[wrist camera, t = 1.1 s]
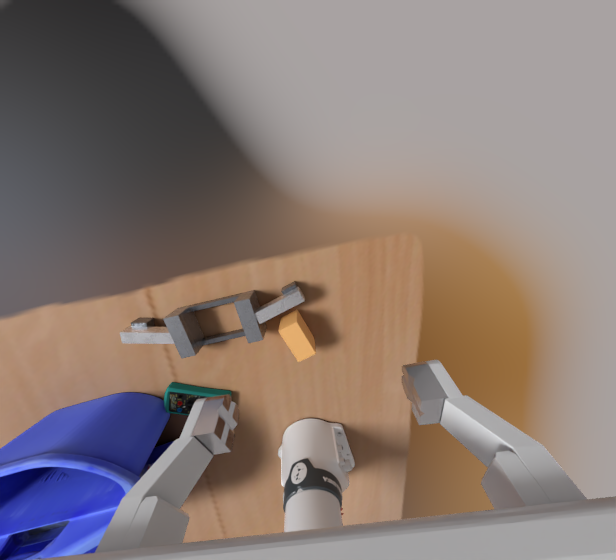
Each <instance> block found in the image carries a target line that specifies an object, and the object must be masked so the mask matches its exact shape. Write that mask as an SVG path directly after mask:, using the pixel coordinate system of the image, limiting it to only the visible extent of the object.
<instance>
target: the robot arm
mask: <svg viewBox="0 0 616 560" xmlns="http://www.w3.org/2000/svg"><path fill="white" fill-rule="evenodd" d="M402 372H403V374H404V375H403V376H402V385H403V389H404V391H405V394H406V396H407V398H408V399H409V400H410V401H411V402H412V410H413V412H414V415H415V417H416V419H417V421H418V424H419V425H424V424H433V423H440V424H441V425H442V426H443V427H444V428H445V429H446V430H447V431H448V432H449V433H451V434H452V435H453V436H454V437H455V438H456V439H457V440H458V441H459V442H461V444H463V445H464V446H465V447H466V448H467V449H468V450H469V451H470V452H471V453H472V454H473V455H475V456H476V457H477V458H478V459H479V460H480V461H481V462H482V463H483V464H484V465H486V466H487V467H488V469H487V471H486V473H485V475H484V477H483V479H482V482H481V484H482V486H483V488H484V490H485V492H486V494H487V496H488V497H489V499H490V501H491V503H492V505H493V507H494V509H495V510H485V511H476V512H467V513H458V514H449V515H439V516H430V517H421V518H411V519H402V520H393V521H384V522H374V523H365V524H356V525H347V526H343V523H342V516H341V515H343V513H341V510H342V508H341V506H342V493H343V492H344V491H345V490H346V489H347V487H348V486H349V475H348V472H349V471H351V470H352V468H353V467H354V466H355V462H354V458H353V455H352V452H351V449H350V446H349V443H348V440H347V437H346V435H345V432H344V429H343V426H342V425H341V424H339V423H328V422H326V421H323V420H320V419H303V420H300V421H297V422H295V423H293V424H292V425H290V426H289V427H288V428H287V429H286V431H285V433H284V435H283V441H282V445H281V446H280V448H279V450H278V456H279V457H280V458H281V483H282V486H283V487H284V495H283V503H284V505H283V508H284V512H285V525H284V532H282V533H273V534H263V535H254V536H245V537H236V538H226V539H217V540H208V541H199V542H190V543H182V542H183V539H184V535H185V532H186V528H187V525H188V521H189V515H188V514H187V513H185V512H184V511H182V510H180V508H181V506H182V504H183V503H184V501H185V500H186V498H187V497H188V495H189V494H190V492H191V490H192V489H193V487H194V486H195V484H196V483H197V481H198V480H199V478H200V476H201V475H202V473H203V472H204V470H205V469H206V467H207V466H208V464H209V462H210V461H211V459H212V458H213V455H215V454H221V453H227V452H231V450H232V446H233V442H234V437H235V434H234V431H233V429H234V428H235V427H236V425H237V424H238V419H239V409H238V406H237V404H236V403H234V402H232V401H231V400H232V397H231V396H230V395H229V394H227V395H221V396H215V397H207V398H201V399H197V400H196V401H195V403H194V405H193V407H192V409H191V412H190V414H189V416H188V419H187V421H186V424H185V426H184V428H183V431H182V433H181V435H180V438H179V439H176V440H175V441H174V442H173V443H172V444H171V445H170V446H169V448H168V449H167V450H166V451H165V452H164V453H163V454H162V455H161V456H160V457H159V459H158V460H157V461H156V462H155V463H154V464H153V465H152V466H151V467H150V469H149V470H148V471H147V472H146V473H145V474H144V475H143V476H142V477H141V479H140V480H139V481H138V482H137V483H136V484H135V485H134V486H133V487H132V488H131V490H130V491H129V492H128V493H127V494H126V495H125V496H124V497H123V498H122V500H121V502H120V504H119V506H118V508H117V510H116V512H115V514H114V516H113V518H112V520H111V522H110V524H109V526H108V527H107V529H106V531H105V533H104V535H103V537H102V539H101V541H100V543H99V545H98V547H97V549H96V551H95V553H88V554H79V555H69V556H60V557H51V558H42V559H32V560H616V496H615V497H606V498H596V499H587V498H586V497H585V496H584V495H583V493H582V492H581V491H580V490H579V489H578V488H577V486H576V485H575V484H574V483H573V481H572V480H571V479H570V478H569V477H568V475H567V474H566V473H565V472H564V470H563V469H562V468H561V467H560V466H559V464H558V463H557V462H556V461H555V459H554V458H553V457H552V456H551V455H550V453H549V452H548V451H547V450H546V449H545V447H544V446H543V445H542V444H540V443H539V442H537V441H536V440H534V439H533V438H531V437H529V436H528V435H526V434H525V433H523V432H522V431H520V430H519V429H517V428H516V427H514V426H513V425H511V424H509V423H508V422H506V421H505V420H504V419H502V418H500V417H499V416H497V415H496V414H494V413H493V412H491V411H490V410H488V409H487V408H485V407H483V406H482V405H480V404H479V403H478V402H476V401H475V400H473V399H471V398H470V397H468V396H467V395H466V396H463V395H462V394H461V392H460V391H459V389H458V388H457V386H456V385H455V383H454V382H453V380H452V379H451V377H450V376H449V374H448V373H447V371H446V370H445V368H444V367H443V365H442V364H441V362H440V361H438V360H432V361H426V362H419V363H413V364H408V365H403V366H402Z"/></svg>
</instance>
